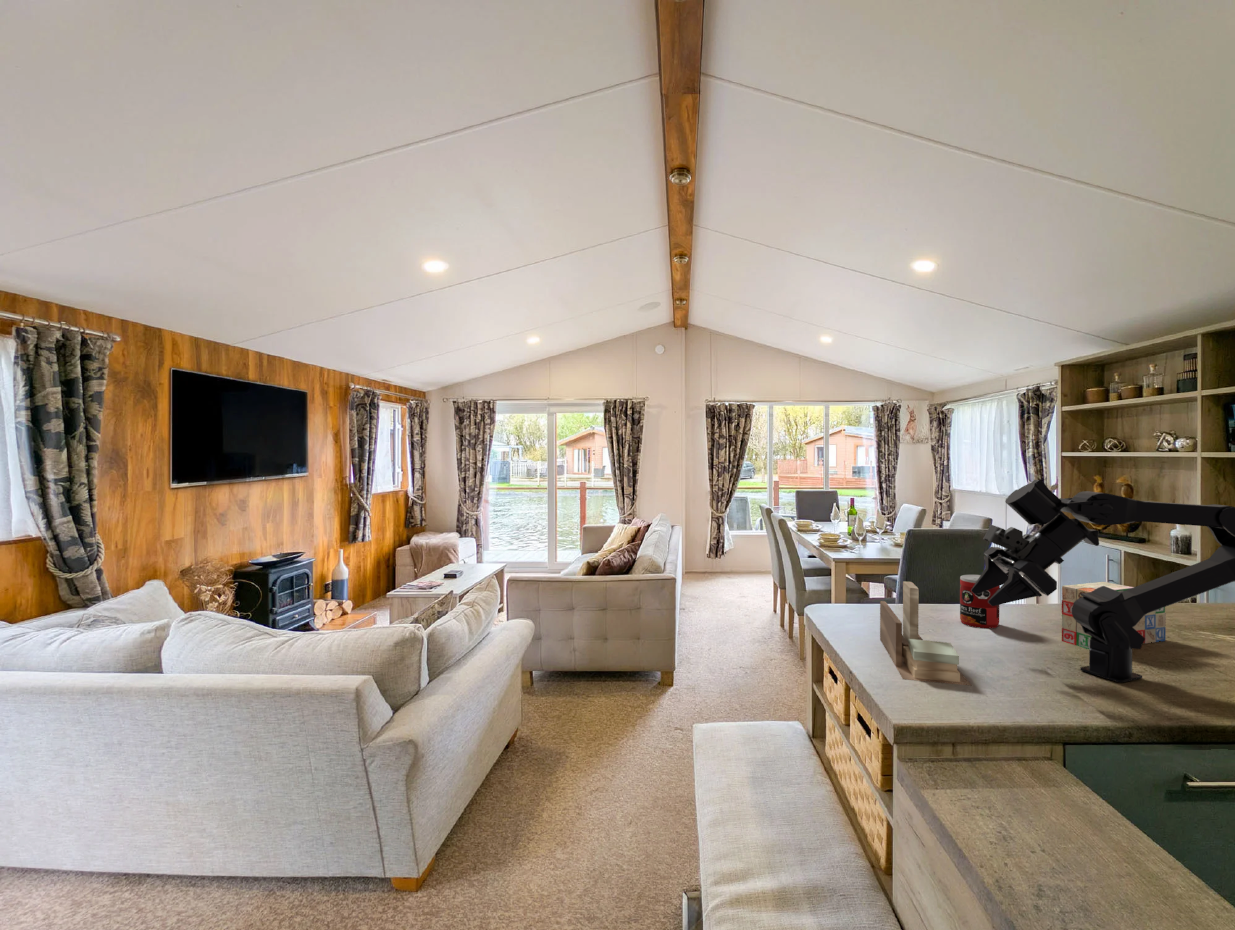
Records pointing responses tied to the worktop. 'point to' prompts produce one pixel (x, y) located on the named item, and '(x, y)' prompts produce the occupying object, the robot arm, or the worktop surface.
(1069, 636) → the stack of blocks
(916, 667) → the offcut stack
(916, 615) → the birch board
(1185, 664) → the worktop surface
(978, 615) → the canned food
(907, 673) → the offcut rack
